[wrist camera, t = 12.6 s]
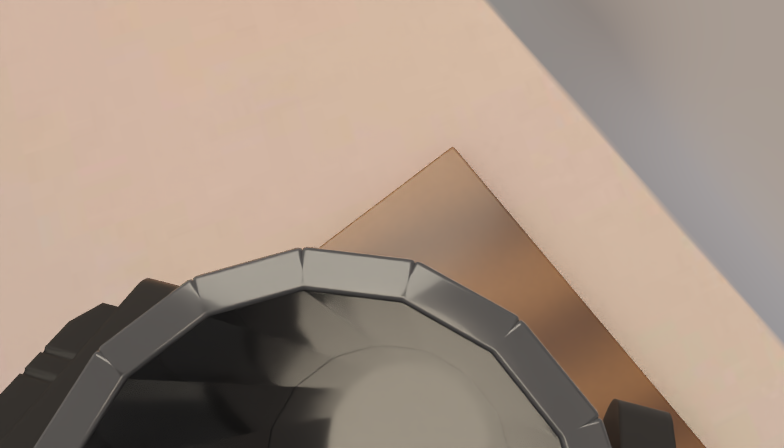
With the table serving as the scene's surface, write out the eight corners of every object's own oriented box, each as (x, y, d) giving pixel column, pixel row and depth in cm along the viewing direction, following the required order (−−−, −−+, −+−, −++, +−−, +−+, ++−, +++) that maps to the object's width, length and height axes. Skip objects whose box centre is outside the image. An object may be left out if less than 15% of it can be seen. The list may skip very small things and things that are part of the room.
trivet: (727, 478, 27) (734, 480, 26) (535, 639, 26) (537, 645, 25) (453, 150, 30) (452, 145, 30) (275, 284, 29) (272, 282, 29)
